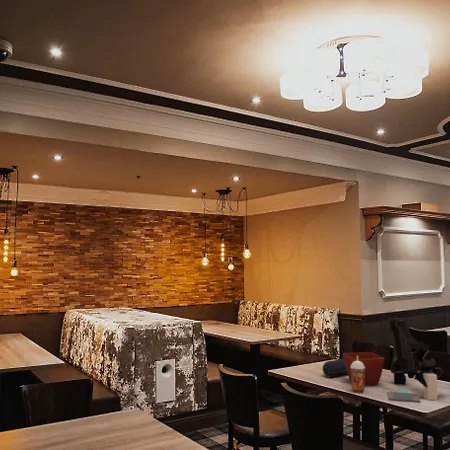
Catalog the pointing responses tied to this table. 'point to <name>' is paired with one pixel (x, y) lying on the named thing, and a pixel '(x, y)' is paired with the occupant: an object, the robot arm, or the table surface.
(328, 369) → the portable speaker
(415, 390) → the table surface
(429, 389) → the cream pillar
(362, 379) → the smoothie
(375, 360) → the plant pot
